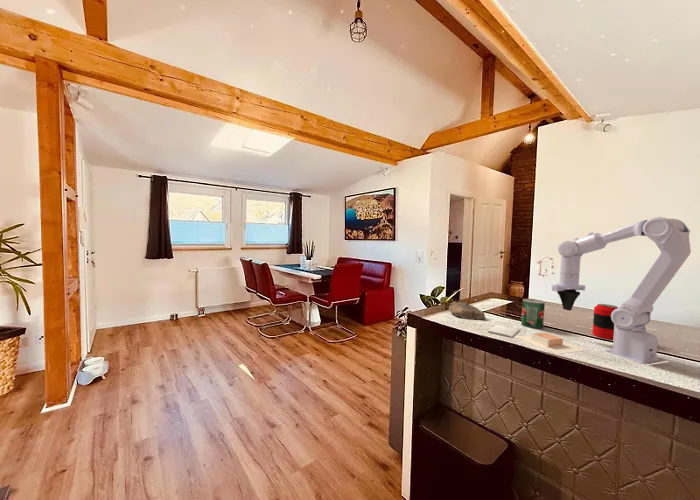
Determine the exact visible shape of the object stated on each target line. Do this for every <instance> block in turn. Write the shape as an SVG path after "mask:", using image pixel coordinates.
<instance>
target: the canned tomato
mask: <svg viewBox="0 0 700 500" xmlns="http://www.w3.org/2000/svg"><path fill="white" fill-rule="evenodd" d="M521 304H522V306H521V320H520V321H521V323H520V325H521V326H523V327H526V328H529V329H534V330H540V329H541V330H542V329H544V321H545V318H544V317H545V304H546V302H545V301H544V300H541V299H540V300H539V299H534V298H523V299H522V303H521Z"/></svg>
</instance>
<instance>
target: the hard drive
mask: <svg viewBox="0 0 700 500" xmlns="http://www.w3.org/2000/svg"><path fill="white" fill-rule="evenodd" d="M520 331H521V329H519V328H516V327H512V326H507V325H502V324H496V325H495V326H493V327H492V328H491V329H488V330H487V333H489V334H493V335H496V336H502V337H506V338H510V339H512V338H514V337H515V335H516V334H518V333H519V332H520Z"/></svg>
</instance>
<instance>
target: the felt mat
mask: <svg viewBox="0 0 700 500" xmlns="http://www.w3.org/2000/svg"><path fill="white" fill-rule="evenodd" d="M531 335H532V334H527V335H516V336H515V335H514V338H517V339H520V340H521V341H524V342H526V343H530V344H531V345H534V346H536V347H538V348H542V349H544V350H547V351H548V352H551V353H553V354H557V355H558V354H559V355H560V354H567V353H575V352H576V353H577V352H583V351H588V350H589V349H587V348H584V347H581V346H580V345H575V344H573V343H570V342H567V341H564V340H563V345H562V346H554V347H546V346H543V345H540V344H538V343H535V342H533V341H531Z"/></svg>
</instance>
